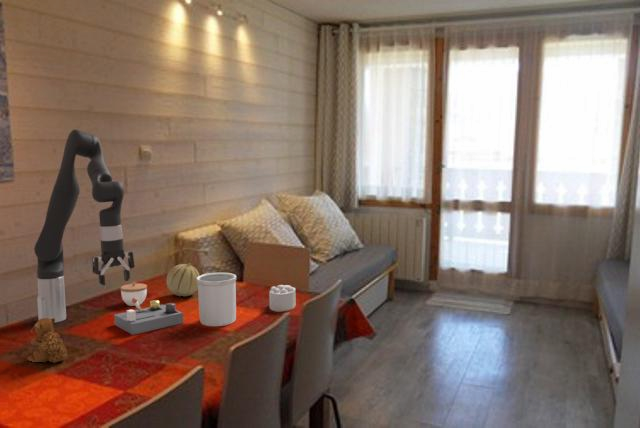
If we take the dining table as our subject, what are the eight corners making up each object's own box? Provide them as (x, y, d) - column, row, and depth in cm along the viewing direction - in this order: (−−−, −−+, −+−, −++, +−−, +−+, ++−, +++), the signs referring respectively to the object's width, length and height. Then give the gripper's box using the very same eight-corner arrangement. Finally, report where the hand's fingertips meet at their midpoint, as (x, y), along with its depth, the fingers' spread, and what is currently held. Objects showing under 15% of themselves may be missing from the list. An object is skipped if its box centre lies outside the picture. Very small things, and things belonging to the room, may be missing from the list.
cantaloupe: (164, 294, 255) (163, 262, 253) (196, 290, 261) (195, 259, 260) (170, 301, 242) (169, 268, 240) (203, 297, 248) (202, 264, 246)
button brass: (152, 310, 214) (152, 303, 213) (148, 308, 216) (148, 301, 216) (161, 308, 216) (161, 301, 216) (157, 306, 219) (156, 299, 219)
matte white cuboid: (130, 321, 200) (130, 312, 200) (127, 319, 202) (126, 310, 202) (135, 320, 201) (135, 310, 201) (132, 318, 204) (131, 309, 203)
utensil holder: (229, 328, 205) (228, 281, 203) (191, 326, 208) (190, 280, 206) (242, 316, 220) (241, 273, 218) (207, 314, 223) (206, 271, 221)
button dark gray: (168, 313, 210) (168, 305, 209) (164, 311, 212) (163, 304, 212) (177, 311, 212) (176, 304, 212) (172, 309, 215) (172, 302, 214)
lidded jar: (142, 307, 234) (141, 285, 233) (117, 307, 234) (116, 285, 233) (150, 300, 244) (150, 279, 243) (126, 300, 244) (125, 279, 243)
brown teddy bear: (56, 350, 184) (53, 311, 182) (77, 360, 175) (75, 319, 173) (24, 359, 176) (22, 319, 175) (45, 370, 167) (42, 327, 166)
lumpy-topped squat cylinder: (297, 303, 238) (297, 283, 237) (290, 312, 225) (290, 291, 224) (274, 302, 240) (273, 282, 239) (265, 311, 227) (265, 290, 226)
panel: (132, 335, 198) (132, 323, 198) (114, 324, 210) (114, 314, 210) (183, 323, 212) (182, 312, 211) (163, 314, 223) (163, 304, 223)
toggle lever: (139, 313, 212) (132, 300, 209) (137, 312, 213) (130, 299, 211) (143, 309, 213) (136, 297, 210) (141, 308, 214) (134, 296, 212)
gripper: (95, 241, 189) (99, 288, 191) (135, 236, 198) (138, 280, 200) (87, 239, 194) (90, 284, 196) (126, 234, 204) (129, 277, 206)
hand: (115, 282), depth 198 cm, fingers open, 8 cm apart
